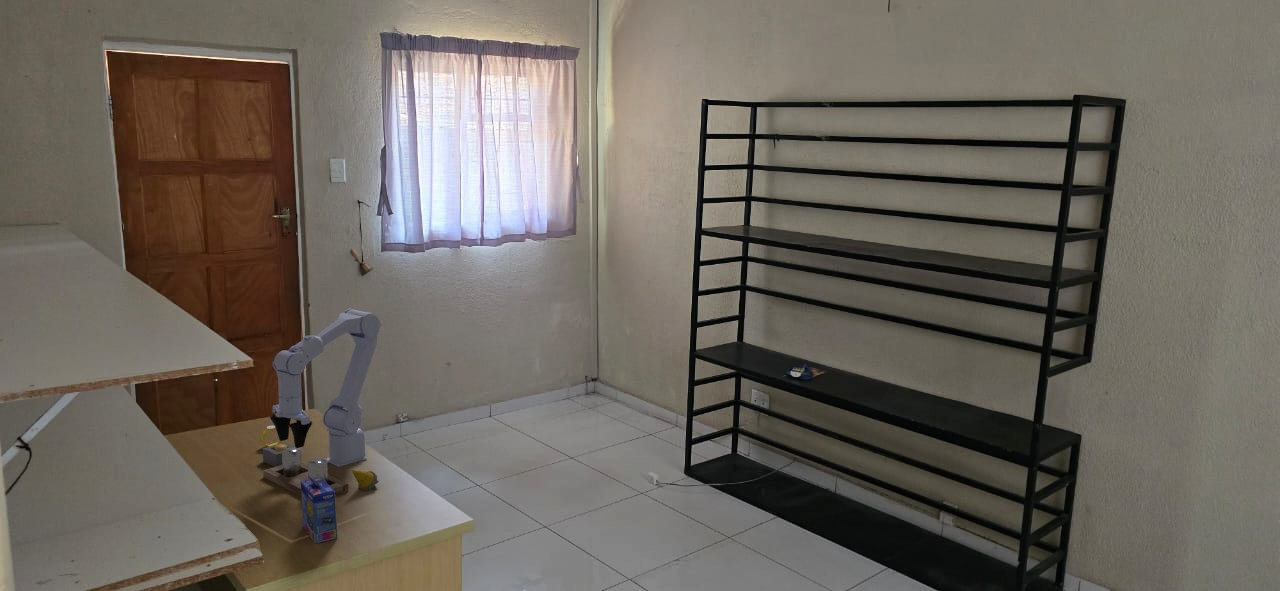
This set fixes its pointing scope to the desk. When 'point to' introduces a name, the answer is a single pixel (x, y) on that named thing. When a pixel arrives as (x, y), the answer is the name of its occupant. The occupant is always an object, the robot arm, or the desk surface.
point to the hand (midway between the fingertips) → (291, 443)
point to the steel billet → (291, 461)
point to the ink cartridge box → (319, 510)
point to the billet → (318, 469)
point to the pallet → (300, 480)
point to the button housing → (273, 455)
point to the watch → (269, 428)
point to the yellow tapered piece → (365, 479)
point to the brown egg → (280, 447)
